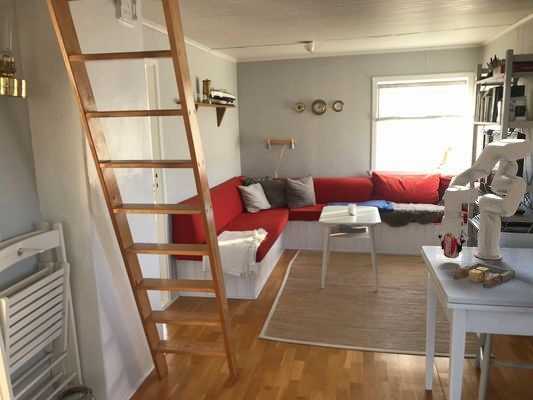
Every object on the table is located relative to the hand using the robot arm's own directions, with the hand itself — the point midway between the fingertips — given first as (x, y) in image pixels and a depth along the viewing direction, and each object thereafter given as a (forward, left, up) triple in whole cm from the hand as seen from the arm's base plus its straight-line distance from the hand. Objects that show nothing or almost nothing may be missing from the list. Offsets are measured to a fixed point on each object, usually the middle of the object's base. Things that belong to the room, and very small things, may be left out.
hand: (451, 250), depth 213 cm
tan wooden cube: (+16, +20, -6) cm, 26 cm away
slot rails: (+15, +20, -6) cm, 25 cm away
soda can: (0, 0, -3) cm, 3 cm away
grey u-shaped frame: (+3, +20, -6) cm, 21 cm away
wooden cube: (+10, +20, -6) cm, 23 cm away
